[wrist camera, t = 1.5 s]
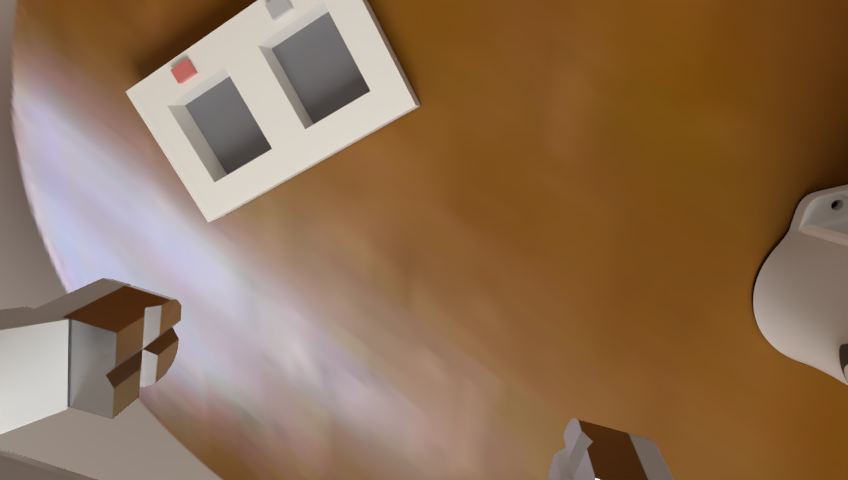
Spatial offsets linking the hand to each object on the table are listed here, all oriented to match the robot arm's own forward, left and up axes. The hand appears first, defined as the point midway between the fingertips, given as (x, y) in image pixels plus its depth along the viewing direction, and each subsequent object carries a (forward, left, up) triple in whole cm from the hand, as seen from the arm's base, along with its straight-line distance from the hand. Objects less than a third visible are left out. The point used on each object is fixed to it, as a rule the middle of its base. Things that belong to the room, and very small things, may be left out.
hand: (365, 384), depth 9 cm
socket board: (+12, -13, -34) cm, 38 cm away
